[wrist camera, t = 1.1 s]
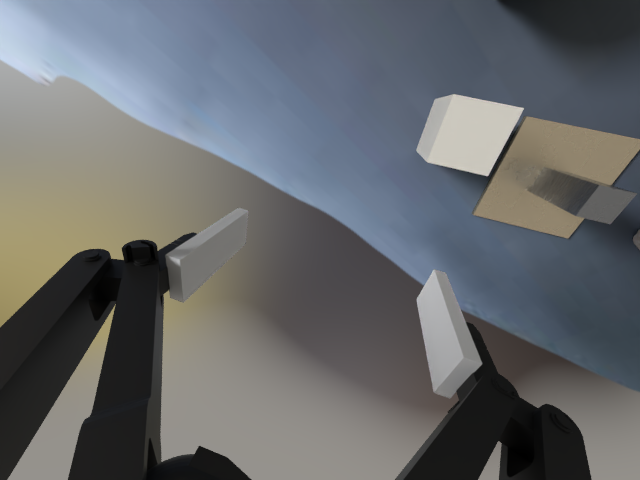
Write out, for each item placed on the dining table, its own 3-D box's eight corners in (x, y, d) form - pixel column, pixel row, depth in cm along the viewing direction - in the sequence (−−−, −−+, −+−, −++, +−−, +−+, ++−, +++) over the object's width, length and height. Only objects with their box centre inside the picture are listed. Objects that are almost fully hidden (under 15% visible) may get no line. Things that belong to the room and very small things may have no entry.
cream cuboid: (434, 99, 28) (453, 94, 21) (486, 109, 28) (524, 108, 20) (416, 150, 31) (426, 162, 24) (462, 161, 31) (487, 176, 23)
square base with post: (524, 116, 27) (581, 117, 19) (641, 140, 26) (752, 151, 18) (471, 213, 33) (499, 243, 25) (565, 236, 32) (624, 276, 24)
